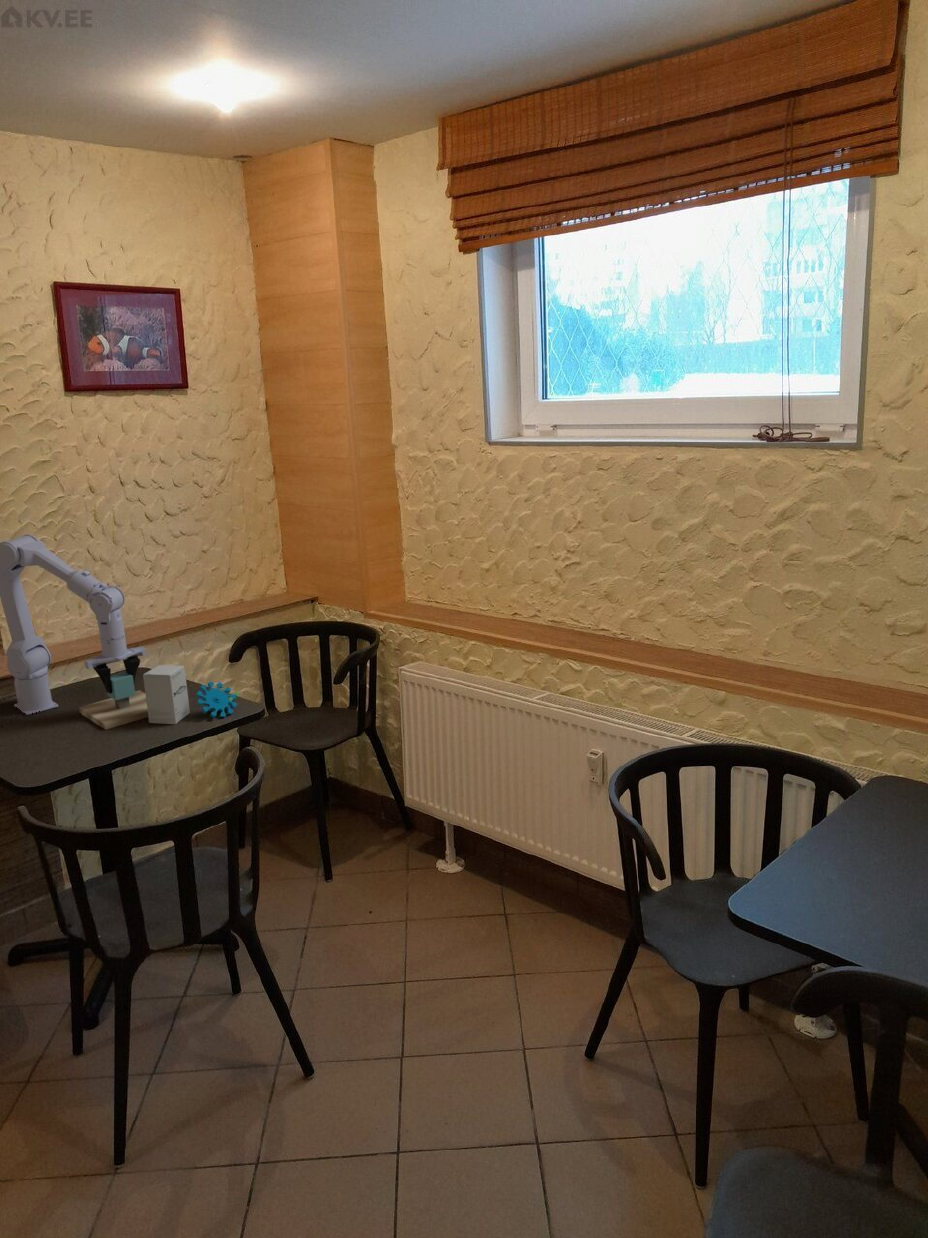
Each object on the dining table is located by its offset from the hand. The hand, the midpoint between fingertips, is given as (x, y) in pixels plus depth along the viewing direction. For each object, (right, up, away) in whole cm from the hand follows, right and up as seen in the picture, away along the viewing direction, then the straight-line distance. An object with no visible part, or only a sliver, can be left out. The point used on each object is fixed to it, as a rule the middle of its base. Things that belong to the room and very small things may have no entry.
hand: (120, 689), depth 233 cm
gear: (+25, -6, -2) cm, 26 cm away
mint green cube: (0, -1, 0) cm, 2 cm away
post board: (0, -6, +2) cm, 6 cm away
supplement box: (+13, -7, -4) cm, 16 cm away
